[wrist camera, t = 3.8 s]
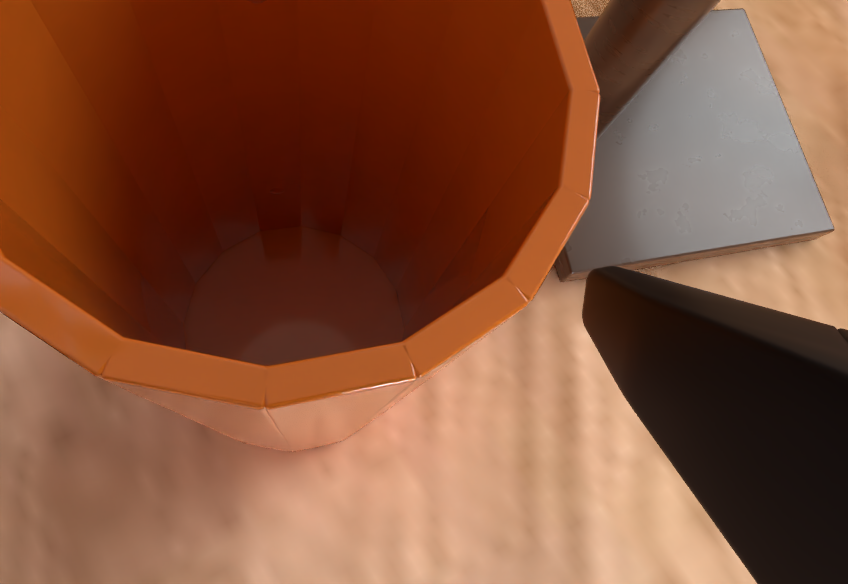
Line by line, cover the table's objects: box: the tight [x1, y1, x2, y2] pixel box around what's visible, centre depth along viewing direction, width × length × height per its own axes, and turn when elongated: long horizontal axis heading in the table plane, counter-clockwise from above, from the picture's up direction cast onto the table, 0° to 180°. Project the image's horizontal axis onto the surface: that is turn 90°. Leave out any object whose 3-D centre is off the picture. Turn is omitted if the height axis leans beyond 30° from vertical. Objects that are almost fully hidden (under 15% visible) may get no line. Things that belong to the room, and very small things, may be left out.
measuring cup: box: [0, 0, 600, 452], centre depth 13 cm, size 11×7×13 cm, turn 12°
